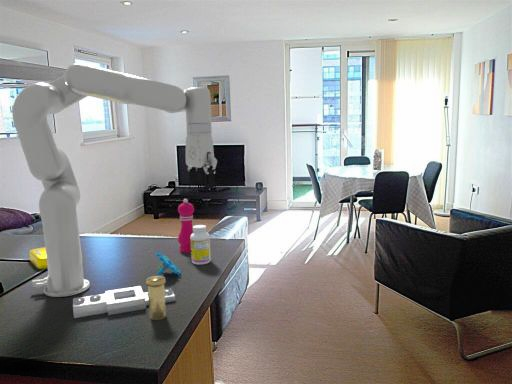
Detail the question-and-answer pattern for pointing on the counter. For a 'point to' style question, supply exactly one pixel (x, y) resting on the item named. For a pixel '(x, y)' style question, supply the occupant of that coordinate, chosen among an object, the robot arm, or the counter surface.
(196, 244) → the supplement bottle
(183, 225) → the pepper mill
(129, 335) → the counter surface
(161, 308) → the pin
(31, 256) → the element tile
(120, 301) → the white studded link plate
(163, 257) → the gear
